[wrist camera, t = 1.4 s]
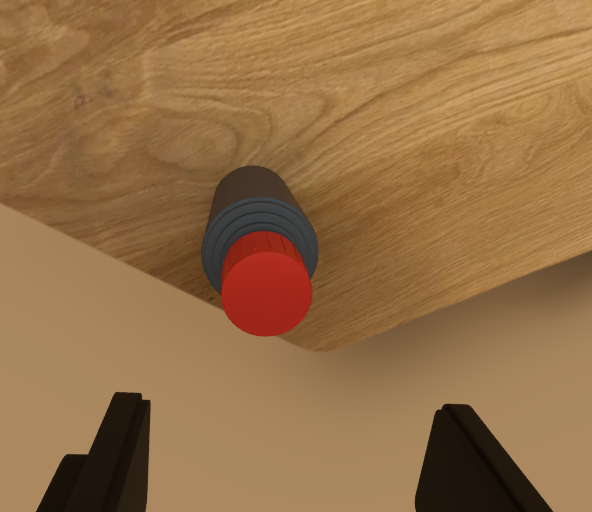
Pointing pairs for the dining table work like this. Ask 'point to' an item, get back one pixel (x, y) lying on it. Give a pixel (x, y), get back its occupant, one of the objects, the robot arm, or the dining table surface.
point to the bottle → (254, 218)
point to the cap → (265, 284)
